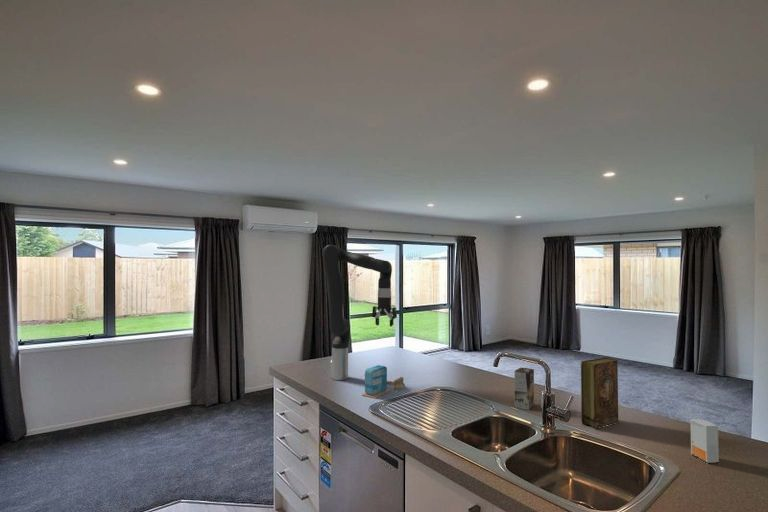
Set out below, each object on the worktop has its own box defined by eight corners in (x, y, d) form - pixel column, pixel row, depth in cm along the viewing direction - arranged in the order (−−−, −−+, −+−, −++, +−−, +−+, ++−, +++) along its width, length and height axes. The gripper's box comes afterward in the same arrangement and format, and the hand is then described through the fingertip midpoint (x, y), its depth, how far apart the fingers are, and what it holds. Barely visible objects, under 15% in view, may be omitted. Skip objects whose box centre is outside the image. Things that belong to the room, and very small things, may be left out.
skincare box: (690, 455, 127) (689, 418, 127) (702, 454, 127) (701, 418, 128) (707, 464, 121) (706, 425, 121) (719, 464, 121) (718, 425, 122)
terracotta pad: (361, 395, 185) (361, 394, 185) (375, 388, 197) (375, 387, 197) (376, 398, 181) (376, 397, 181) (389, 390, 193) (389, 389, 193)
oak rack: (368, 386, 200) (368, 376, 201) (377, 381, 209) (377, 372, 209) (396, 391, 192) (396, 381, 193) (404, 386, 201) (404, 376, 201)
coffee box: (529, 410, 167) (528, 373, 168) (514, 407, 171) (514, 371, 171) (534, 404, 174) (534, 368, 175) (520, 401, 178) (519, 366, 179)
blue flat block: (371, 396, 183) (371, 370, 183) (364, 394, 186) (364, 369, 186) (387, 390, 192) (387, 365, 193) (380, 388, 195) (380, 364, 195)
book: (607, 417, 159) (606, 357, 160) (620, 422, 154) (619, 359, 155) (581, 424, 152) (580, 361, 152) (594, 430, 147) (593, 364, 148)
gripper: (398, 296, 212) (398, 325, 212) (376, 295, 219) (376, 324, 219) (392, 297, 206) (392, 327, 205) (370, 296, 213) (369, 325, 212)
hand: (384, 325), depth 212 cm, fingers open, 8 cm apart
